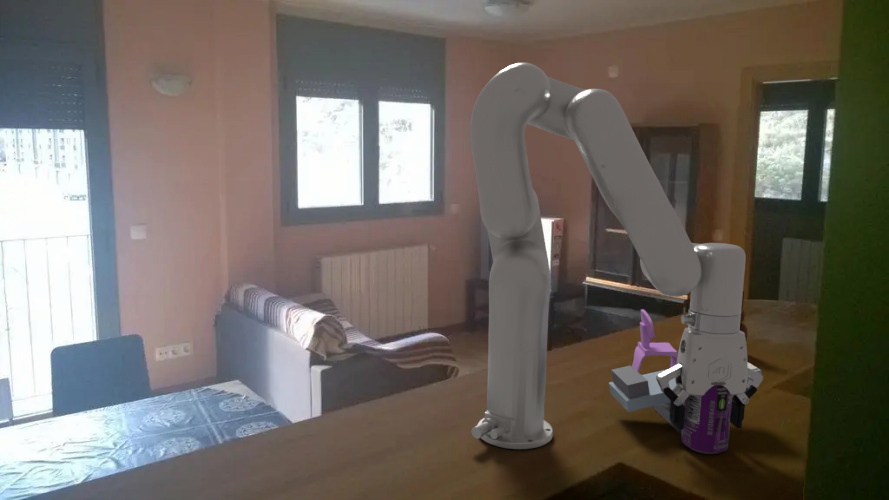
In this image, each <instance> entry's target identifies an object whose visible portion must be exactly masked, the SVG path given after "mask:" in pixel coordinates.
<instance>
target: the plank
mask: <svg viewBox="0 0 889 500" xmlns="http://www.w3.org/2000/svg"><path fill="white" fill-rule="evenodd" d="M747 365H748V368H749V369H751V370H753V371H755V372H757V373H759V374H760V375H762V369H760V368H758V367H757V366H755V365H753V364H752V363H750V362H748V361H747ZM668 369H669V368H667V369H662V370H658V371H655V372H650V373H649V372H648V373H646V374H645V373H644V374H641V373H640V371H639V372H637V371H636V370H635V369H634V368H633V367H632V364H631V365H626V366H623V367H617V368H614V369H611V370H610V371H611V377H612V381H610V382H608V387H609V393H610V395H612V397H614V399H616V401H617V402H618V403H619V404H620V405H621V406H622V407H623V408H624V409H625V410H626V411H627V413H630V412H635V411H638V410H642V409H647V408H653V407H652V406H656V405H661V404H665V403H669V402H671V400H670V399H668V397H667V396H666V395H665V394H664V393H663V392H662V391H661V388H660V386H659V384H658V382H657V380H656V376H657V375H658V374H660V373H662V372H664V371H666V370H668ZM762 376H763V375H762ZM748 381H749V377H748V376H747V383H748ZM676 385H677V384H676V382H675V378H674V379H672V380H670V381H669V386H670V389H671V390H672V389H673V388H674V387H675V386H676Z"/></svg>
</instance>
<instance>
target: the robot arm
mask: <svg viewBox="0 0 889 500" xmlns="http://www.w3.org/2000/svg"><path fill="white" fill-rule="evenodd" d="M469 123H470V125H469V136H470V146H471V153H472V158H473V166H474V175H475V179H476V181H475V182H476V185H477V193H478V198H479V199H478V200H479V211H480V218H481V221H482V223H483V225H484V226H485V229H486V231H487V235H488V241H489V246H490V251H491V256H492V257H491V258H492V264H491V268H490V273H489V279H488V351H487V352H488V354H487V355H488V356H487V357H488V358H487V384H486V385H487V389H486V391H487V392H486V394H487V395H486V411H485V412H484V417H483V418H481V419H480V420H479V421H478V423H477V425H475V426H472V428H471V431H470V432H471V433H470V434H471V435H472V437H473V438H474V439H477V440H478V439H481V440H482V441H484V442H486V443H487V444H490V445H492V446H495V447H499V448H503V449H509V450H511V449H512V450H530V449H534V448H535V449H536V448H539V447H542V446H544V445H547V444H548V443H550V441H551V440H552V439H553V432H554V429H553V426H551V424H550V423H549V422H547V421H546V420H545V405H546V404H545V403H546V402H545V399H546V378H547V377H546V375H547V356H548V355H547V352H548V348H547V347H548V346H547V345H548V326H549V323H548V322H549V310H550V309H549V308H550V298H551V297H550V295H551V269H550V264H549V263H550V262H549V257H548V254H547V253H548V252H547V247H546V241H545V240H546V239H545V235H544V227H543V223H542V216H541V210H540V204H539V203H540V202H539V199H538V195H537V193H536V191H535V189H534V188H533V183H532V178H531V173H530V167H529V159H528V153H527V146H526V145H527V144H526V138H525V135H526V134H525V133H526V127H527V125H529V126H532V127H534V128H537V129H540V130H543V131H545V132H548V133H551V134H554V135H556V136H559V137H563V138H566V139H569V140H573V141H574V143H575V144H576V147H577V149H578V150H579V153H580V155H581V157H582V159H583V161H584V163H585V164H586V167H587V169H588V170H589V172H590V175H591V177H592V179H593V181H594V183H595V185H596V187H597V188H598V191H599V192H600V195H601V197H602V199H603V200H604V202H605V204H606V205H607V206H608V208H609V210H610V211H611V212H612V214H613V215H614V216H615V218H616V219H617V220H618V221H619V223H620V224H621V226H622V227H623V229H624V230H625V232H626V234H627V236H628V238H629V239H630V242H632V243H631V244H632V245H633V248H634V249H635V251H636V252H637V255H638V257H639V264H640V265H639V266H640V268H641V271H642V273H643V275H644V276H645V278H646V279H647V280H648V281H649V283H651V285H652V286H653V287H654V288H655V289H656V291H658V292H659V293H661V294H662V295H664V296H668V297H683V296H685V295H688V294H690V301H689V309H688V310H687V311H688V313H687V314H682V315H681V317H680V322H681V323H682V324H684V325H686V326H688V327H685V328H684V330H683V332H682V336H681V338H680V343H679V348H678V351H677V356H678V357H677V364H676V366H674V367H672V368H670V367H669V368H667V369H668V370H666V369H665V370H666V371H664V372H662V373H660V374H658V375H657V376H656V380H657V382H658V384H659V386H660V388H661V391H662V392H663V393H664V394H665V395H666V396H667V397H668V399H670V400H671V402H670V421H671V422H672V424H673V425H674V426H675V427H676V428H677V429H679V430H682V429H683V428H684V416H685V406H684V405H683V404H682V403H683V402H684V401H685V400H686V399H687V397H688V396H689V395H692V396H703V395H704V394H705V393H706V391H707V390H709V389H710V388H711V387H712V386H714V385H711V383H715V382H717V383H720V382H722V383H723V382H726V384H725V385H723V386H724V387H726V388H727V389H728V391H729V392H730V394H731V395H732V406H731V418H730V424H732V426H734V427H735V428H736V429H742V428H743V427H742V426H743V421H744V419H745V408H746V407H745V406H746V405H747V404H749V402H750V398H751V397H753V396H754V395H755V394H757V391H758V389H757V388H759V386H760V385H761V383H762V382H763V379H764V375H760V374H759V373H757V372H755V371H753V370H751V369H749V368H748V365H747V362H748V350H747V349H748V347H747V340H746V339H745V333H744V332H742V331H740V318H741V308H742V296H743V291H744V281H745V270H746V258H747V257H746V252H745V250H744V249H743V248H742V247H741V246H739V245H736V244H730V243H724V242H723V243H722V242H706V243H697V242H695V243H694V242H691V240H690V238H689V236H688V233H687V231H686V230H685V228H684V226H683V224H682V222H681V219H680V218H679V216H678V214H677V213H676V211H675V209H674V208H673V205H672V204H671V202H670V200H669V198H668V197H667V195H666V193H665V191H664V188H663V187H662V185H661V182H660V180H659V179H658V177H657V176H656V173H655V172H654V170H653V167H652V166H651V164H650V162H649V160H648V158H647V156H646V154H645V152H644V150H643V149H642V146H641V144H640V142H639V140H638V138H637V136H636V133H635V132H634V130H633V128H632V125H631V124H630V122H629V119H628V117H627V116H626V113H625V111H624V109H623V108H622V106H621V104H620V103H619V101H618V99H617V98H616V96H615V95H613V93H611V92H610V91H608V90H605V89H601V88H589V89H584V88H581V87H577V86H575V85H573V84H569V83H566V82H563V81H560V80H558V79H555V78H553V77H550V76H547V74H546V73H545V72H544V70H543V69H541V68H540V67H539V66H537V65H535V64H533V63H529V62H517V63H514V64H513V63H512V64H510V65H507V67H505V68H503V69H501V70H500V71H499V72H497V74H495V75H494V76H493V77H492V78H490V79H489V81H488V82H487V83H486V84H485V85H484V87H483V88H481V91H480V92H479V94H478V96H477V98H476V100H475V102H474V105H473V108H472V112H471V116H470V122H469ZM742 309H743V308H742ZM747 376H748V377H749V381H748V383H747ZM674 378H675V382H676V384H677V385H676V386H675V387H674V388H673V389H672V390H671V389H670V386H669V381H670V380H672V379H674Z"/></svg>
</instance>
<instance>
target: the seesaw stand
mask: <svg viewBox="0 0 889 500" xmlns="http://www.w3.org/2000/svg"><path fill="white" fill-rule="evenodd" d="M682 404H683V405H684V402H683V403H682ZM651 408H652V409H653V410H655V412H657V414H659V416H661V417H662V418H663V419H664V420H665V422H667V423H669V425H670V426H671V427H672V428H673V429H675V430H676V431H677V433H679V434H680V436H682V430H679V429H677V428H676V427H675V426H674V425H673V424H672V422H671V421H670V402H669V403H665V404H661V405H656V406H652V407H651Z"/></svg>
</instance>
